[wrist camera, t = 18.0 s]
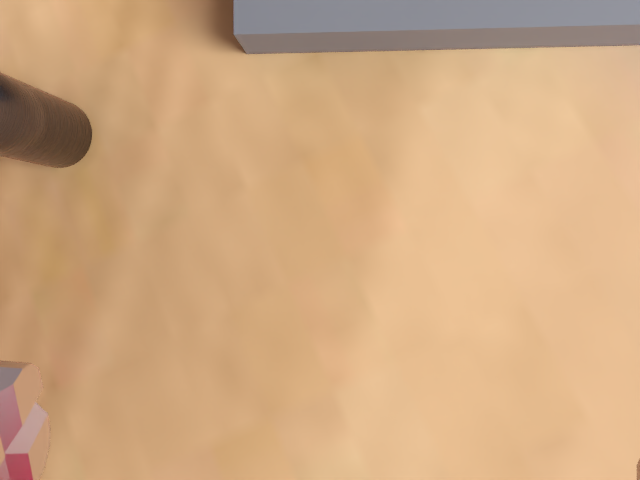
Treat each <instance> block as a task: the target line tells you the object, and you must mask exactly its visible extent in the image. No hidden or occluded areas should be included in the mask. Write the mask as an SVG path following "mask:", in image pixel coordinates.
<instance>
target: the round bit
mask: <svg viewBox="0 0 640 480" xmlns="http://www.w3.org/2000/svg"><path fill="white" fill-rule="evenodd" d="M91 139H92V129H91V125H90V122H89V120H88V118H87V116H86V115H85V113H84V112H83V111H82V110H81V109H80V108H79V107H77V106H75V105H74V104H71V103H69V102H67V101H64V100H62V99H60V98H57V97H55V96H53V95H51V94H48V93H46V92H44V91H41V90H39V89H37V88H34V87H32V86H30V85H28V84H25V83H23V82H21V81H18V80H16V79H14V78H12V77H9V76H7V75H5V74H2V73H0V156H3V157H8V158H12V159H17V160H22V161H27V162H32V163H36V164H41V165H46V166H51V167H57V168H63V167H68V166H71V165H73V164H75V163H77V162H78V161H80V160H81V159H82V158H83V157H84V156H85V154H86V153H87V151H88V149H89V147H90V144H91Z"/></svg>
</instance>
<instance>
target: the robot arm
mask: <svg viewBox="0 0 640 480" xmlns="http://www.w3.org/2000/svg"><path fill="white" fill-rule="evenodd" d="M42 389H43V383H42V379H41V375H40V370H39V367H37V366H35V365H34V364H32V363H23V362H11V361H0V480H40V478H41V475H42V473H43V471H44V468H45V464H46V460H47V456H48V452H49V447H50V423H49V416H48V413H47V412H46V411H45V410H43V409H42V408H41V407H40V406H39V405H38V404H37V403H36V400H37V398H38V397H39V395H40V393H41V391H42ZM637 480H640V459H639V462H638V464H637Z"/></svg>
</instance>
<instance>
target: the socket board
mask: <svg viewBox="0 0 640 480" xmlns="http://www.w3.org/2000/svg"><path fill="white" fill-rule="evenodd" d="M234 36H235V37H236V39H237V40H238V42H239V43H240V45H241V46H242V48H243V49H244V51H245V52H246V54H263V53H307V52H352V51H397V50H441V49H486V48H531V47H575V46H620V45H640V0H234Z"/></svg>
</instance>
